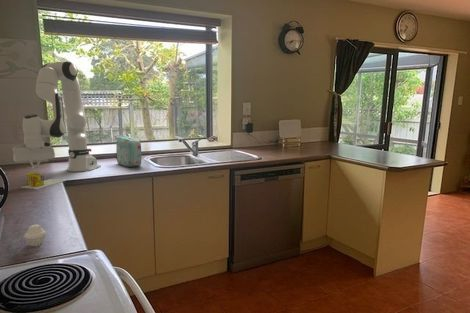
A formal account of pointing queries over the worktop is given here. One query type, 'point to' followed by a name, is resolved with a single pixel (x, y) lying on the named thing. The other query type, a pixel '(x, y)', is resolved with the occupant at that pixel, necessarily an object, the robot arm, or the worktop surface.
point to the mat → (46, 183)
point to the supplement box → (35, 179)
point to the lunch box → (128, 151)
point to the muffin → (35, 235)
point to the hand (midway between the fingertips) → (35, 168)
